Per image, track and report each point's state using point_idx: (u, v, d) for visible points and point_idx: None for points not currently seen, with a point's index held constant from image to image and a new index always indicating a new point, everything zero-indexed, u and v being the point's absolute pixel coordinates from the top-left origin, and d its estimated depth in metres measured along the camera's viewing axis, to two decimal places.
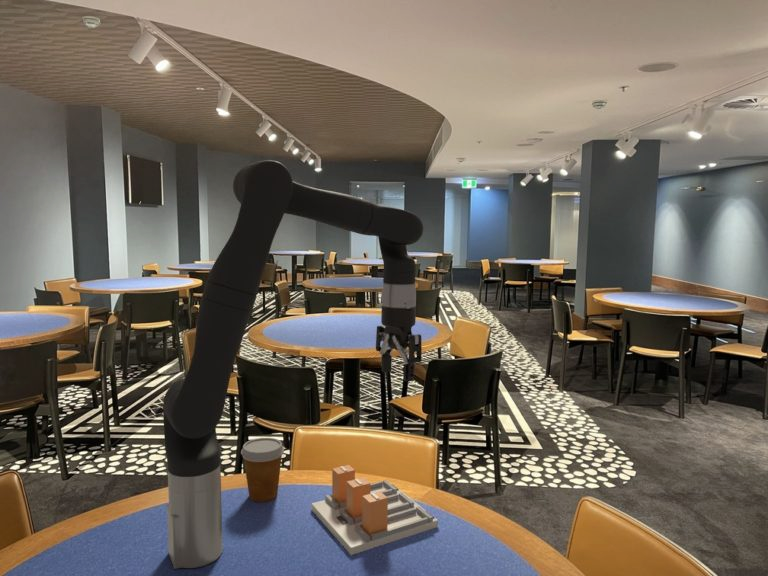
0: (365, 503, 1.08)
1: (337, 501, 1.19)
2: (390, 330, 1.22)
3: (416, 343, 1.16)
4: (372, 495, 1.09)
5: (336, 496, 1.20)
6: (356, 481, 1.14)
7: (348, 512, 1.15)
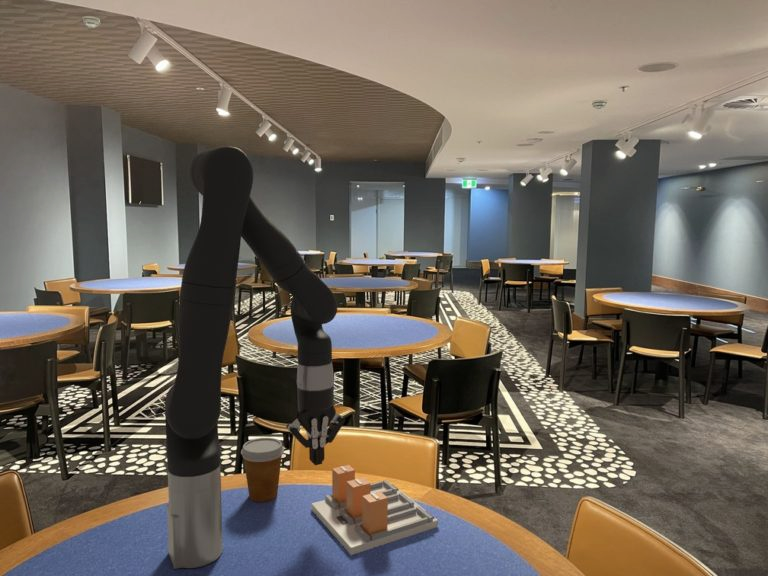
0: (365, 503, 1.08)
1: (337, 501, 1.19)
2: (311, 414, 1.14)
3: None
4: (372, 495, 1.09)
5: (336, 496, 1.20)
6: (356, 481, 1.14)
7: (348, 512, 1.15)
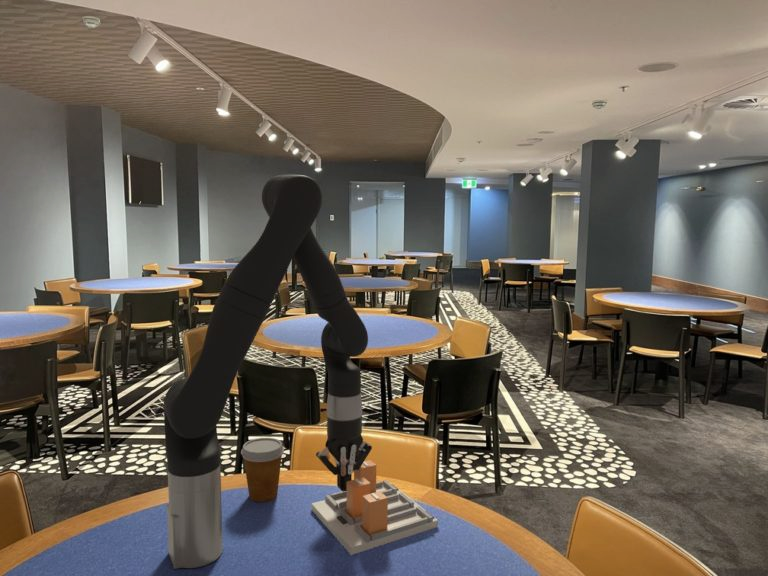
0: (365, 503, 1.08)
1: None
2: (340, 443, 1.18)
3: None
4: (372, 495, 1.09)
5: None
6: (356, 481, 1.14)
7: (348, 512, 1.15)
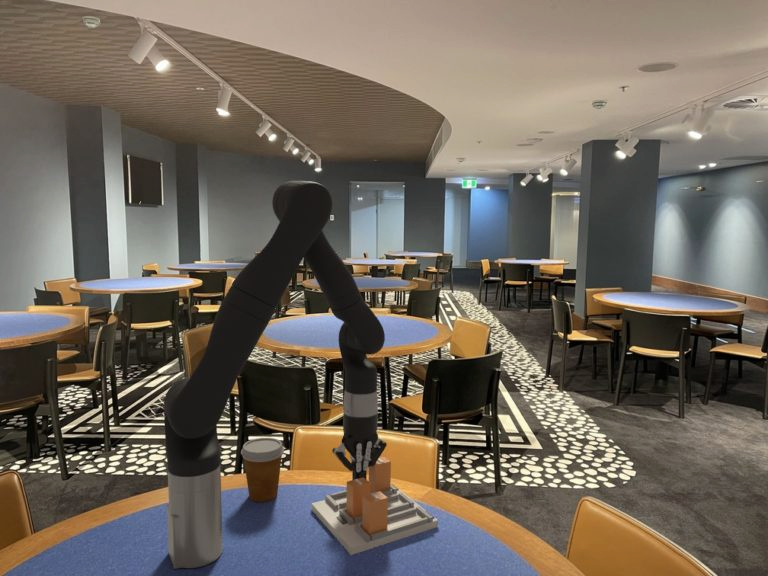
0: (365, 503, 1.08)
1: (374, 491, 1.24)
2: (356, 439, 1.20)
3: None
4: (372, 495, 1.09)
5: (372, 486, 1.24)
6: (356, 481, 1.14)
7: (348, 512, 1.15)
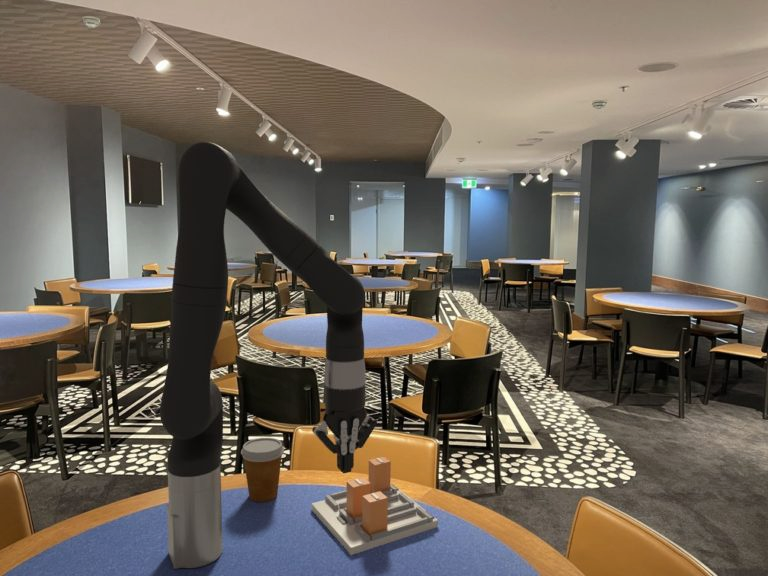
0: (365, 503, 1.08)
1: (373, 491, 1.24)
2: (341, 416, 1.01)
3: None
4: (372, 495, 1.09)
5: (372, 486, 1.24)
6: (356, 481, 1.14)
7: (348, 512, 1.15)
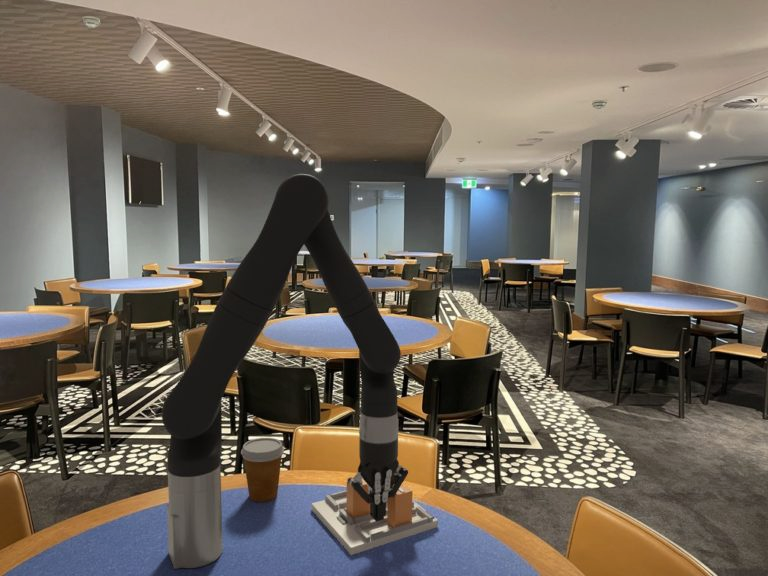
0: None
1: None
2: (375, 467, 1.06)
3: None
4: None
5: None
6: None
7: (348, 512, 1.15)
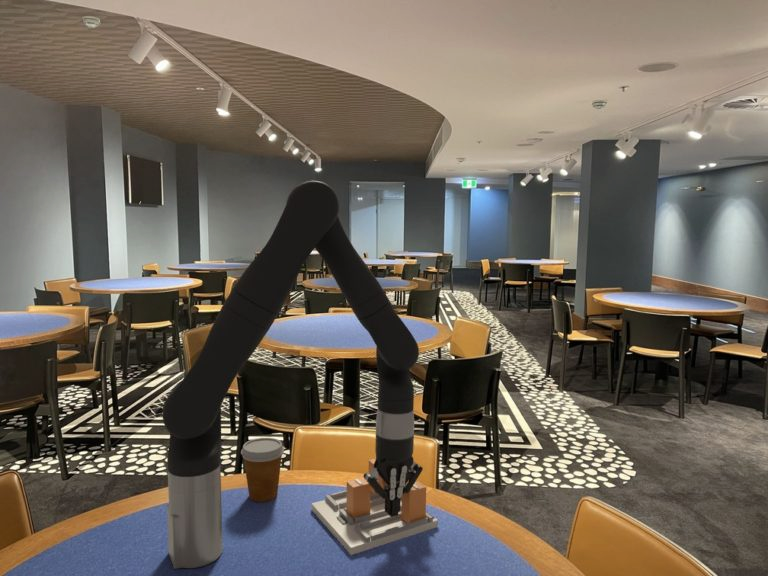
0: None
1: (373, 491, 1.24)
2: (390, 463, 1.08)
3: None
4: None
5: None
6: (356, 481, 1.14)
7: (348, 512, 1.15)
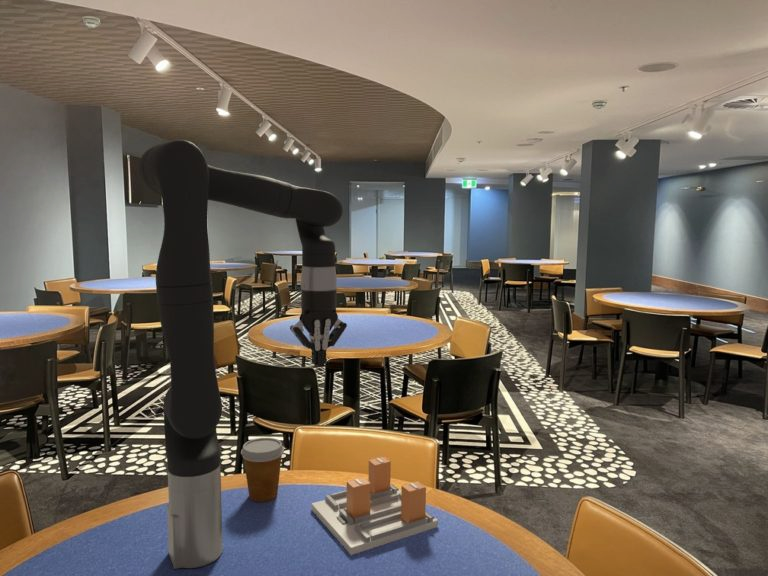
0: (404, 492, 1.12)
1: (373, 491, 1.24)
2: (315, 316, 1.17)
3: None
4: (411, 485, 1.13)
5: (372, 486, 1.24)
6: (356, 481, 1.14)
7: (348, 512, 1.15)
